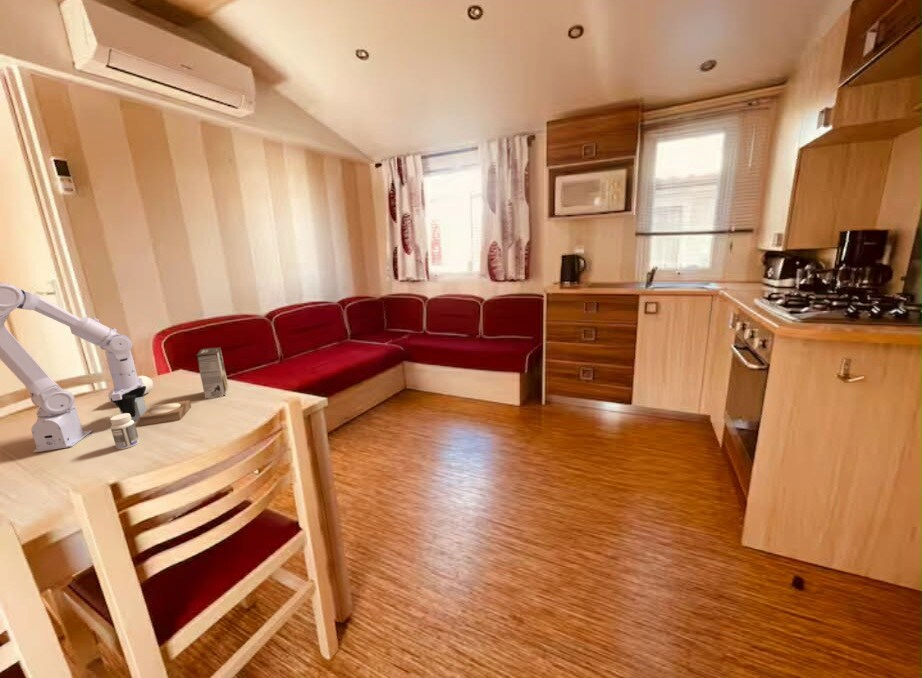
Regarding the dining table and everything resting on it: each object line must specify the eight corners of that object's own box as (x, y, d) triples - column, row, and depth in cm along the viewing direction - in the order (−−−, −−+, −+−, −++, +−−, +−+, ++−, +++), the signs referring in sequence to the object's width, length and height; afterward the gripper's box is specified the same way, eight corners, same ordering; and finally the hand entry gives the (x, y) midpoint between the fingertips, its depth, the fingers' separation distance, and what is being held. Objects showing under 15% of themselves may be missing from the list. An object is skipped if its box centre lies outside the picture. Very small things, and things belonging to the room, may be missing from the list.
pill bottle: (137, 438, 103) (130, 410, 101) (141, 444, 100) (134, 415, 98) (114, 446, 100) (106, 417, 98) (118, 451, 97) (110, 422, 95)
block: (141, 420, 115) (136, 402, 113) (123, 422, 113) (118, 404, 112) (147, 414, 119) (143, 396, 118) (130, 416, 118) (125, 399, 116)
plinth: (180, 419, 114) (178, 411, 114) (141, 425, 111) (139, 417, 110) (191, 407, 123) (189, 399, 123) (155, 412, 120) (153, 404, 120)
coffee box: (209, 390, 138) (200, 349, 134) (229, 387, 140) (221, 346, 137) (204, 399, 130) (195, 355, 126) (225, 395, 132) (217, 352, 129)
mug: (134, 399, 126) (157, 386, 138) (119, 384, 125) (144, 372, 136) (109, 414, 127) (135, 400, 138) (94, 399, 125) (121, 386, 136)
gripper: (128, 377, 107) (139, 420, 110) (149, 363, 121) (159, 402, 124) (97, 381, 105) (109, 425, 108) (123, 366, 118) (133, 406, 122)
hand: (134, 413), depth 116 cm, fingers closed on block, 4 cm apart
